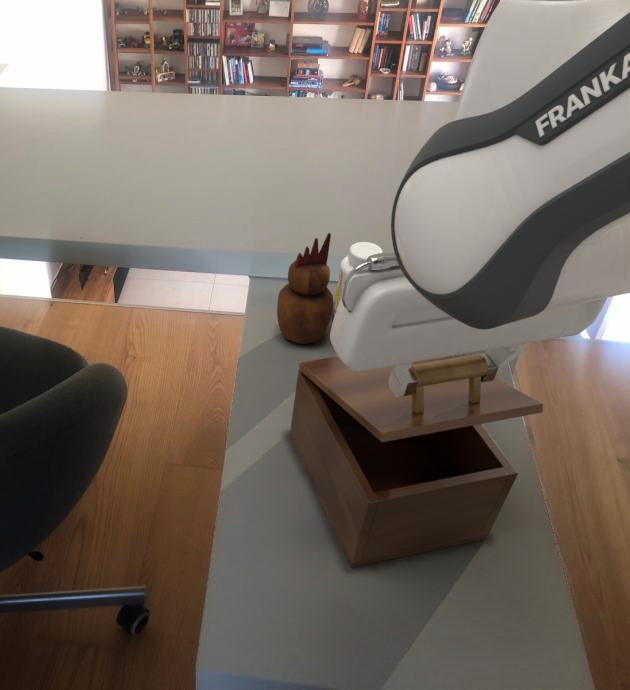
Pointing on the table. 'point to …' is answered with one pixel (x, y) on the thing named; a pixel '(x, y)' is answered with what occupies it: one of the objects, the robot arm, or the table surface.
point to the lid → (421, 396)
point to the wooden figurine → (306, 296)
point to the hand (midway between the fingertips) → (443, 383)
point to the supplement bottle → (353, 264)
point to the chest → (397, 481)
